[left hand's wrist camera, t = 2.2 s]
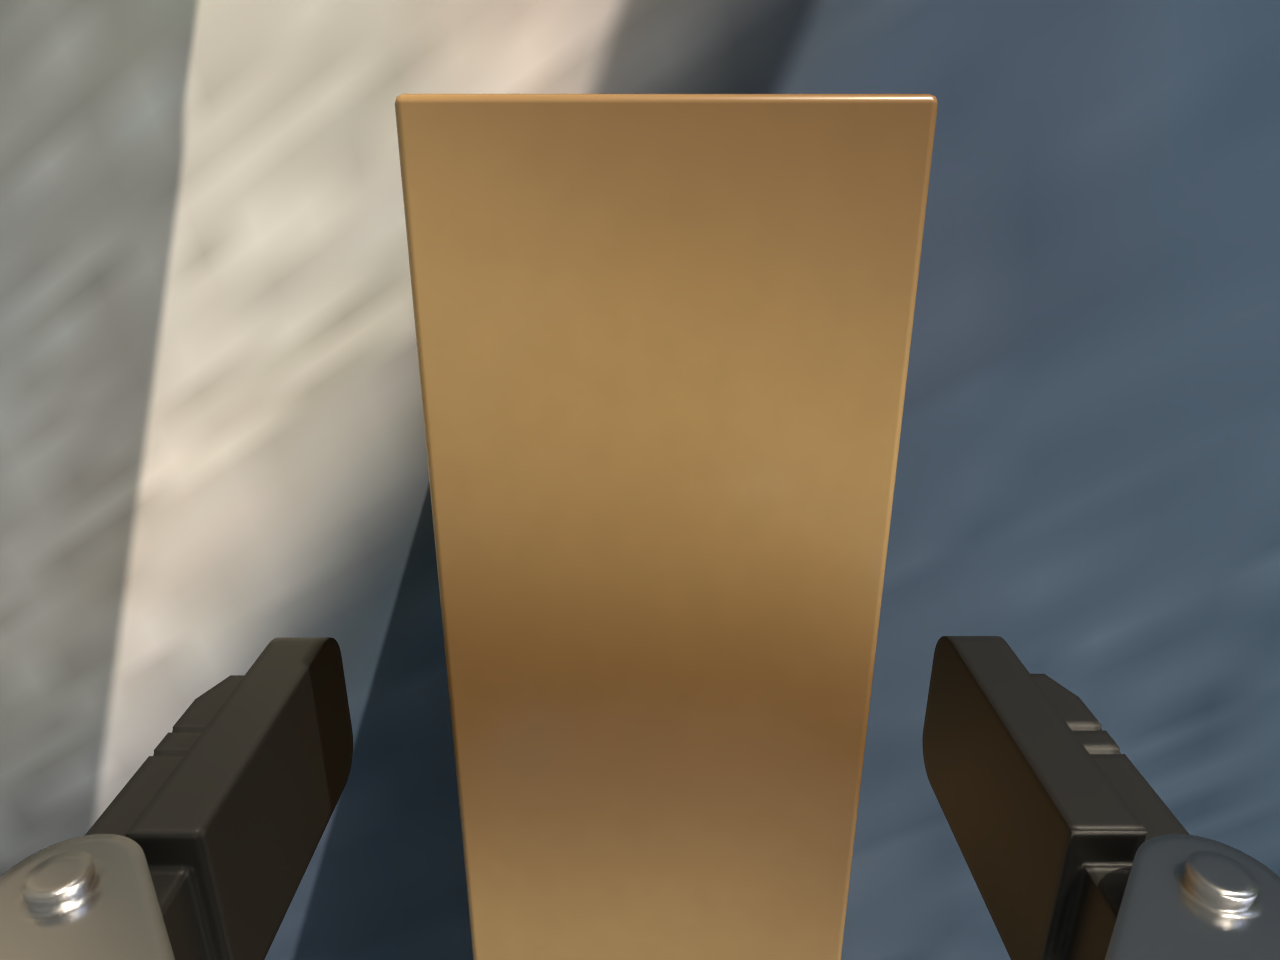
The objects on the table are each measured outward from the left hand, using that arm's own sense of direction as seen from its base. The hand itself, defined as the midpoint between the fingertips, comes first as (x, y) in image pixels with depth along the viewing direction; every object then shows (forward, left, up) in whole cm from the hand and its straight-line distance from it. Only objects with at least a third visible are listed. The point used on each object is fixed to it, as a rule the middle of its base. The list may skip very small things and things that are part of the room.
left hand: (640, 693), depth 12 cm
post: (-23, +25, -6) cm, 35 cm away
